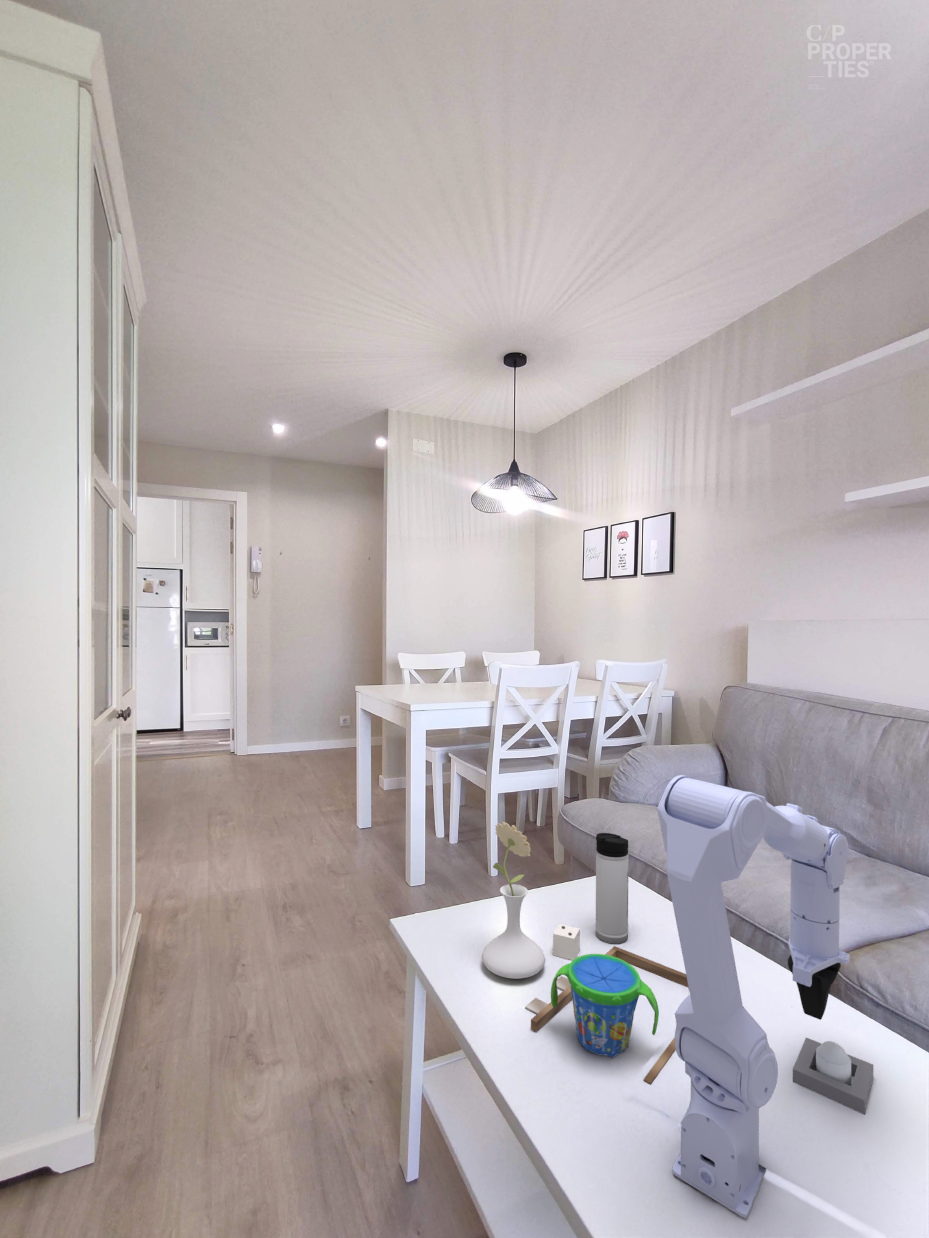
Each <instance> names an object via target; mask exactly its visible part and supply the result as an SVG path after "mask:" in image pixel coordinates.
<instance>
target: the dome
mask: <svg viewBox="0 0 929 1238" xmlns="http://www.w3.org/2000/svg"><path fill="white" fill-rule="evenodd" d="M847 1054H848V1053H847V1052H846V1050H845V1049H844V1048H843V1047H842V1046H841V1045H840V1044H839V1043H837V1042H835V1041H832V1040H826V1041H824V1042H822V1043H821V1045H820V1046H818V1047H817V1048H816V1064H815V1071H817V1072H819V1073H822V1074H824V1075H826V1076H829V1077H831V1078H833V1079H836V1080H838V1081H840V1082H842V1083H845V1084H847V1085H849V1086H852V1076H851V1059H850V1058H849V1056H848V1055H849V1054H848V1055H847Z"/></svg>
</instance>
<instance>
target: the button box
mask: <svg viewBox="0 0 929 1238" xmlns="http://www.w3.org/2000/svg"><path fill="white" fill-rule="evenodd" d="M821 1044H822V1043H821V1042H819V1041H816V1040H813V1039H812V1038H808V1037H806V1036H805V1039H804V1041H803V1043H802V1046H801V1049H800V1050H799V1053H798V1056H797V1058H796V1061H795V1063H794V1065H793V1067H792V1083H795V1084H796V1085H799V1086H801V1087H803V1088H805V1089H807V1090H810V1091H812V1092H814V1093H816V1094H819V1095H821V1096H823V1097H825V1098H827V1099H829V1100H831V1101H833V1102H836V1103H839V1104H840V1105H843V1106H844V1107H847V1108H849V1109H851V1110H853V1111H856V1112H857V1113H860V1114H862V1115H864V1116H865V1114H866V1111H867V1108H868V1107H867V1106H868V1102H869V1097H870V1095H871V1090H872V1085H873V1082H874V1081H873V1080H874V1064H873V1063H870V1062H869V1061H868V1062H867V1061H865V1060H863V1059H860V1058H858V1057H856V1056H853V1055H851V1054H848V1053H846V1054H847V1055H848V1056H849V1058H850V1059H851V1077H853V1080H852V1082H851V1086H849V1085H847V1084H845V1083H842V1082H840V1081H838V1080H836V1079H833V1078H831V1077H829V1076H826V1075H824V1074H822V1073H819V1072H817V1071H816V1069H814V1068H815V1067H816V1048H817V1047H818V1046H820V1045H821Z"/></svg>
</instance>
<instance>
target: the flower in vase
mask: <svg viewBox="0 0 929 1238" xmlns="http://www.w3.org/2000/svg"><path fill="white" fill-rule="evenodd" d="M495 834H496V836H497V837H498V839H499V841H500V842H501V843H502V845H503V846H504V847H506V848H507V849H506V851H505V856H504V859H503V860H504V861H503V865H501V864H499V863H498V862H495V863H494V864H493V866H492V868H493V869H495V870H497V871H498V872H499V873H501V875H502V876H505V877H506V880H507V882H508V884H505V885H502V886H501V887H500V888H499V893H500V894H501V895H502V896H503V898H504V901H505V905H506V913H507V915H506V916H507V919H506V920H507V921H506V928H505V930H504V931H503V932H502V933H501V934H499V935H497V936H496V937H495V938H492V939H491V941H489V942H488V943H487V944H486V945H485V946H484V948H483V951H482V953H481V960H482V962H483V965H484V966H485V967H486V969H487V970H488V971H490V972H492V973H493V974H494V975H497V976H499V977H502V978H507V979H517V980H518V979H527V978H530V977H532V976H535V975H537V974H539V973H540V972H541V970H542V969H543V967H545V964H546V957H545V953H544V951H543V949H542V948H541V946H539V945H538V943H536V941H534V940H533V939H531V938H530V937H529V936H527V934H525V933H524V932H523V931H522V929H521V921H520V920H521V908H522V904H523V901H524V899H525V897H526V896H527V894H528V892H529V890H528V888H527V887H525V886H523V885H521V884H516V883H517V882H519V881H521V880H522V879H523V878H524V876H525V874H518V875H516V876H514V877H513V878H512V879H511V880H510V878H509V876H508V872H507V868H506V863H507V857H508V855H509V854H508V853H509V851H510V852H512V853H513V854H514V855H517V856H519V857H521V858H527V857H531V851H532V848H531V844H530V843H529V842H528V841H527V840H528V837H527V836H526V835H524V834H523V832H522V831H520V830H518V829H517V827H516V826H515V825H511V826H510V824H508V822H505V821H501V823H497V824H495Z"/></svg>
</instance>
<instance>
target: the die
mask: <svg viewBox="0 0 929 1238" xmlns="http://www.w3.org/2000/svg"><path fill="white" fill-rule="evenodd" d="M552 935H553V936H552V937H553V938H552V956H555V957H559V958H561V959H567V960H570V961H573V960H574V959H575V958H577V957H578V954H579V952H580V949H581V947H580V946H581V929H580V928H579V927H574V926H570V925H566V924H561V923H559V924H558V926H556V928H555V930H554V932H553V934H552Z"/></svg>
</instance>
